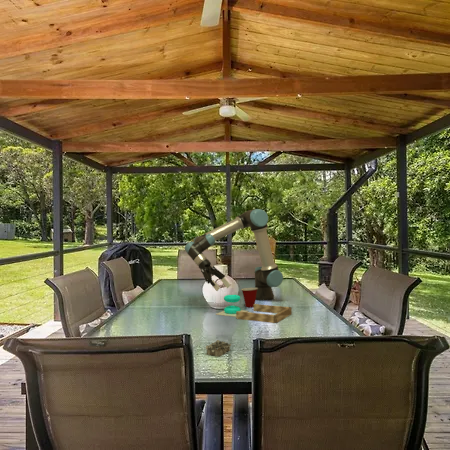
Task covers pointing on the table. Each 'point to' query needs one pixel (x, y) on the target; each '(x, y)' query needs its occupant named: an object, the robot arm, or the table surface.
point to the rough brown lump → (218, 348)
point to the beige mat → (229, 314)
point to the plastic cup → (249, 296)
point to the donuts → (232, 299)
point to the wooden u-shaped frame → (281, 314)
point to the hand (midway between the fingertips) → (223, 288)
